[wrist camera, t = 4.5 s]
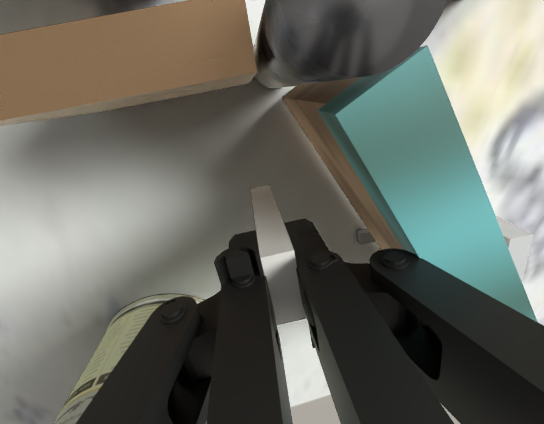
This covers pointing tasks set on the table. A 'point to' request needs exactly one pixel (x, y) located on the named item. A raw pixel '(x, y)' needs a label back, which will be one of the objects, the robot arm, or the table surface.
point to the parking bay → (512, 234)
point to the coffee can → (110, 354)
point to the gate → (410, 171)
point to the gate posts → (202, 52)
